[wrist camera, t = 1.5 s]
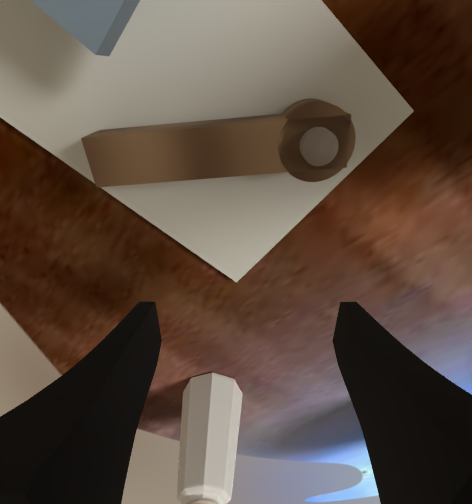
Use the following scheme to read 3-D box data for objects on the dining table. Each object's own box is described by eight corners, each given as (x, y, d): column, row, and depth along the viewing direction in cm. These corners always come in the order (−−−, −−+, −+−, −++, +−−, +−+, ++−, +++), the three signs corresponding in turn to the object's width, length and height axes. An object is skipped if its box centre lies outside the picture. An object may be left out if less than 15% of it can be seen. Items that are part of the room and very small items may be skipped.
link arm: (343, 95, 16) (365, 100, 13) (338, 166, 18) (356, 184, 15) (97, 117, 17) (68, 127, 14) (115, 184, 18) (93, 204, 16)
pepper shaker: (170, 390, 29) (137, 546, 20) (212, 362, 27) (198, 520, 18) (213, 417, 31) (201, 571, 22) (254, 392, 29) (262, 549, 20)
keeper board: (408, 109, 17) (475, 125, 12) (236, 277, 23) (236, 333, 18) (66, -298, 11) (-69, -587, 6) (-58, 70, 17) (-180, 70, 12)
